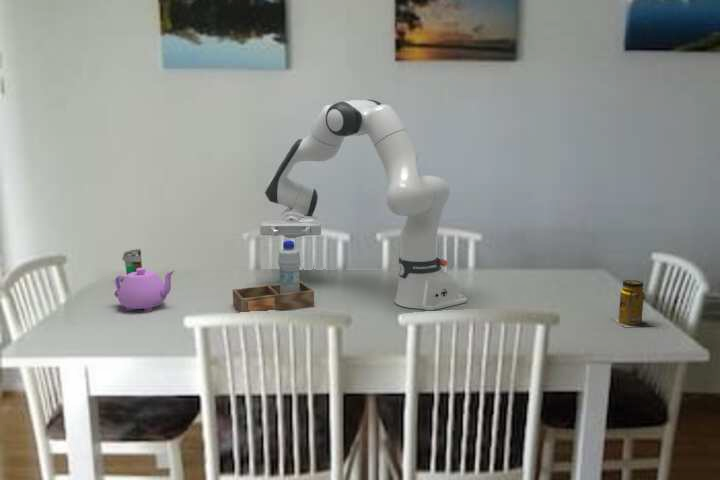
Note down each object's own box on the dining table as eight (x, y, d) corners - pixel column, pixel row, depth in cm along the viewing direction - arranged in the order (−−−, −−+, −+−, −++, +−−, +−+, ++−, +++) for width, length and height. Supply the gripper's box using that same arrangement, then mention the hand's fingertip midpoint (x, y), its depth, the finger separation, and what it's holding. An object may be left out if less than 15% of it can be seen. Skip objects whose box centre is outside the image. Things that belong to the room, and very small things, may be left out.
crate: (302, 296, 211) (301, 281, 210) (314, 306, 201) (314, 291, 200) (233, 305, 203) (232, 289, 202) (242, 316, 192) (241, 300, 191)
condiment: (612, 319, 188) (615, 278, 185) (640, 318, 189) (644, 278, 186) (624, 327, 181) (628, 285, 178) (654, 326, 182) (658, 284, 179)
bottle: (297, 307, 200) (296, 243, 196) (276, 306, 201) (274, 242, 197) (303, 301, 207) (302, 238, 202) (283, 299, 208) (281, 238, 204)
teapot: (186, 301, 207) (184, 263, 205) (167, 315, 193) (165, 275, 191) (126, 299, 210) (123, 262, 207) (103, 312, 196) (100, 273, 193)
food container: (124, 276, 237) (122, 249, 235) (142, 275, 238) (140, 248, 236) (123, 285, 225) (121, 257, 223) (142, 284, 227) (140, 256, 225)
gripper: (261, 215, 224) (257, 223, 211) (321, 215, 225) (320, 223, 212) (261, 233, 225) (257, 242, 212) (321, 233, 227) (321, 242, 213)
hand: (289, 233), depth 212 cm, fingers open, 8 cm apart
